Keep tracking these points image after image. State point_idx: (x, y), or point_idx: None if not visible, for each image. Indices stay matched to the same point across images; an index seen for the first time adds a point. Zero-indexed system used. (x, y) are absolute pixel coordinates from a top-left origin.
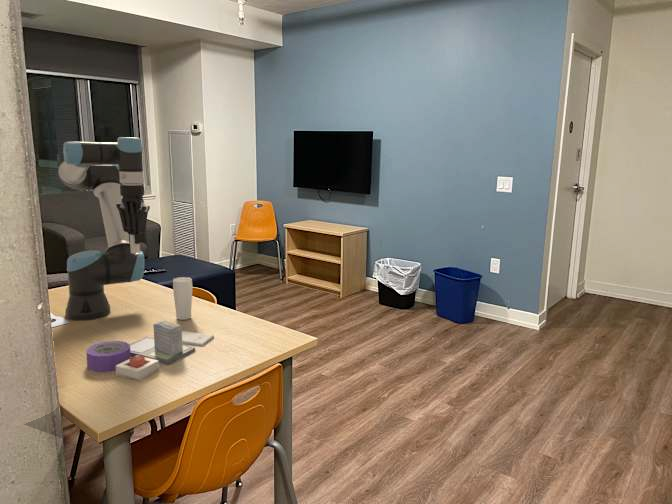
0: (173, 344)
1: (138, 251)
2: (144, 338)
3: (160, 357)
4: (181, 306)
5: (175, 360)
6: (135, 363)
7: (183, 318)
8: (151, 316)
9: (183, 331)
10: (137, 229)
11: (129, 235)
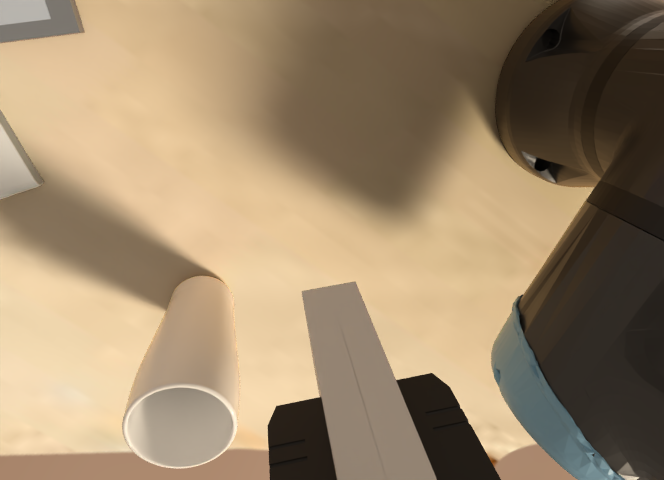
0: None
1: (313, 360)
2: (59, 6)
3: None
4: (171, 311)
5: None
6: None
7: (177, 287)
8: (328, 233)
9: (14, 184)
10: None
11: (478, 477)
